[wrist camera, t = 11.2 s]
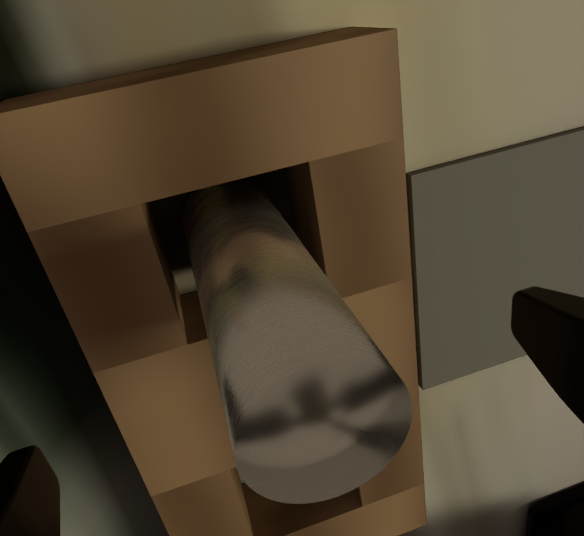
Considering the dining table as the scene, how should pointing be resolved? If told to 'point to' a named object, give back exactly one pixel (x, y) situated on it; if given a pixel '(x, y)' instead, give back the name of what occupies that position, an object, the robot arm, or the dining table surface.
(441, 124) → the dining table surface
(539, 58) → the dining table surface
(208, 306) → the peg
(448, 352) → the mat
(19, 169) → the hole block
